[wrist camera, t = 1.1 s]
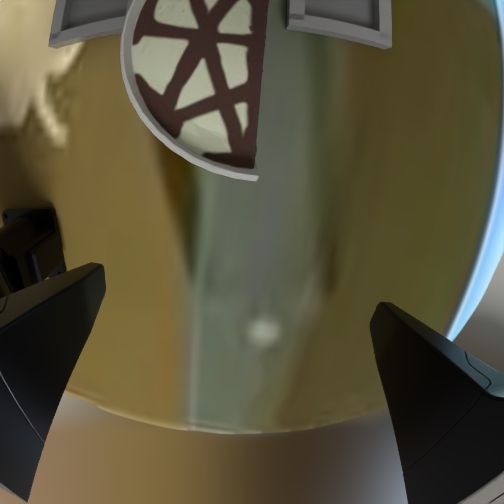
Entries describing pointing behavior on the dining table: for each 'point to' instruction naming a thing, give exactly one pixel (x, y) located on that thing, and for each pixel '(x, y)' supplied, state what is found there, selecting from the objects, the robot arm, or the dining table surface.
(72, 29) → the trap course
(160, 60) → the food container
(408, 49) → the dining table surface
